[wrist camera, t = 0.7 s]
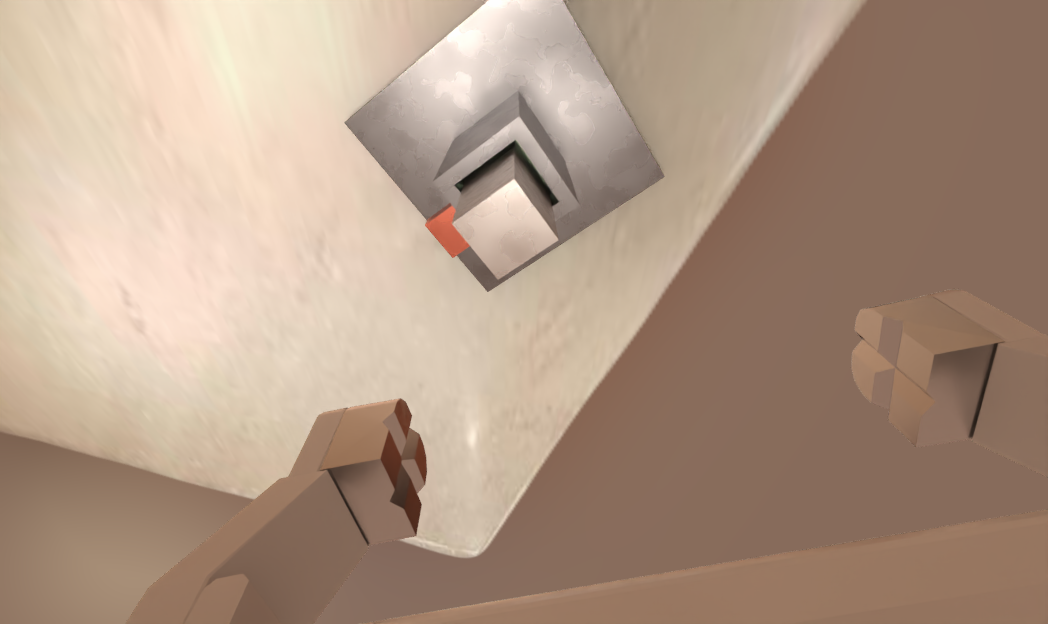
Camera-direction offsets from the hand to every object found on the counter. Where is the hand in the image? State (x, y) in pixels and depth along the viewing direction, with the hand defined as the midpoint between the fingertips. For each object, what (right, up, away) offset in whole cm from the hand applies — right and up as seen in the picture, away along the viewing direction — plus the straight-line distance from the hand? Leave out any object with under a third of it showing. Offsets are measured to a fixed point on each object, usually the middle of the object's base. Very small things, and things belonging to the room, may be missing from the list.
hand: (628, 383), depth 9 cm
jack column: (-3, +15, +35) cm, 38 cm away
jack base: (-3, +16, +37) cm, 41 cm away
